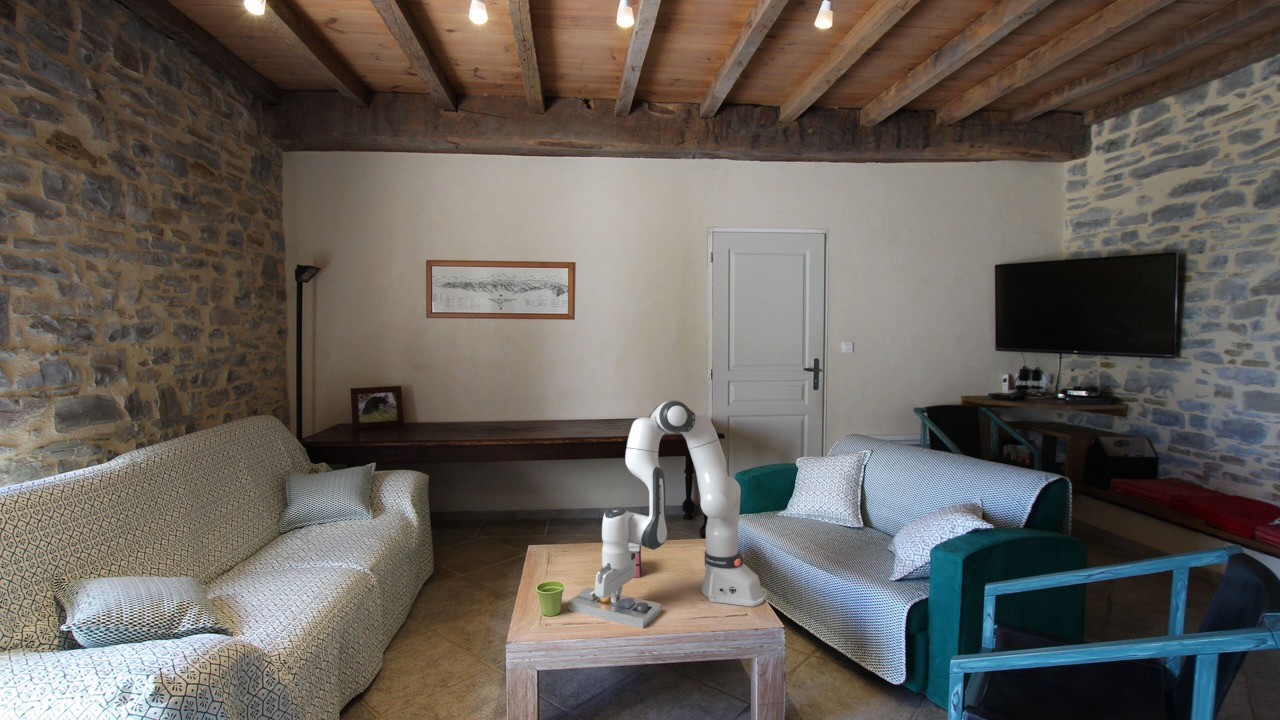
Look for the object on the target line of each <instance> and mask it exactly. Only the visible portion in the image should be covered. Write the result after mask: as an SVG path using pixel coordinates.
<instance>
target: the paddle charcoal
mask: <svg viewBox="0 0 1280 720" xmlns="http://www.w3.org/2000/svg"><path fill="white" fill-rule="evenodd" d="M578 598H581V599H585V600H589V601H592V600H594V599H596V598H597V596H596V595H595V591H586V592H583V593H582V594H581V595H579V596H578Z"/></svg>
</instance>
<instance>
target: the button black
mask: <svg viewBox="0 0 1280 720" xmlns="http://www.w3.org/2000/svg"><path fill="white" fill-rule="evenodd" d="M636 611H637V612H641V613H645V614H646V613H647V612H648V604H647V603H638V604H636Z"/></svg>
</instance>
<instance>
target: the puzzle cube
mask: <svg viewBox="0 0 1280 720" xmlns="http://www.w3.org/2000/svg"><path fill="white" fill-rule="evenodd" d="M628 547H629V550H630V551H634V552H636V558H635V560H636V573H635V576H634V578H633V579H640V578H641V575H642V553H641V552H642V551H641V550H642V546H641V545H637V544H633V543H631V542H630V543H628Z"/></svg>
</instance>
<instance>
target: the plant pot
mask: <svg viewBox="0 0 1280 720" xmlns="http://www.w3.org/2000/svg"><path fill="white" fill-rule="evenodd" d="M565 588H566V585H565V583H564V582H562V581H557V580H549V581H542V582H540V583H539V584H537V585H536V586H535V590H536V591H537V595H538V599H539V605H540V610H541V614H542V616H546V617H554V616H557V615H559V614H560V613H561V611H562V610H561V608H562V602H563V601H562V600H563V593H564V589H565Z"/></svg>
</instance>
